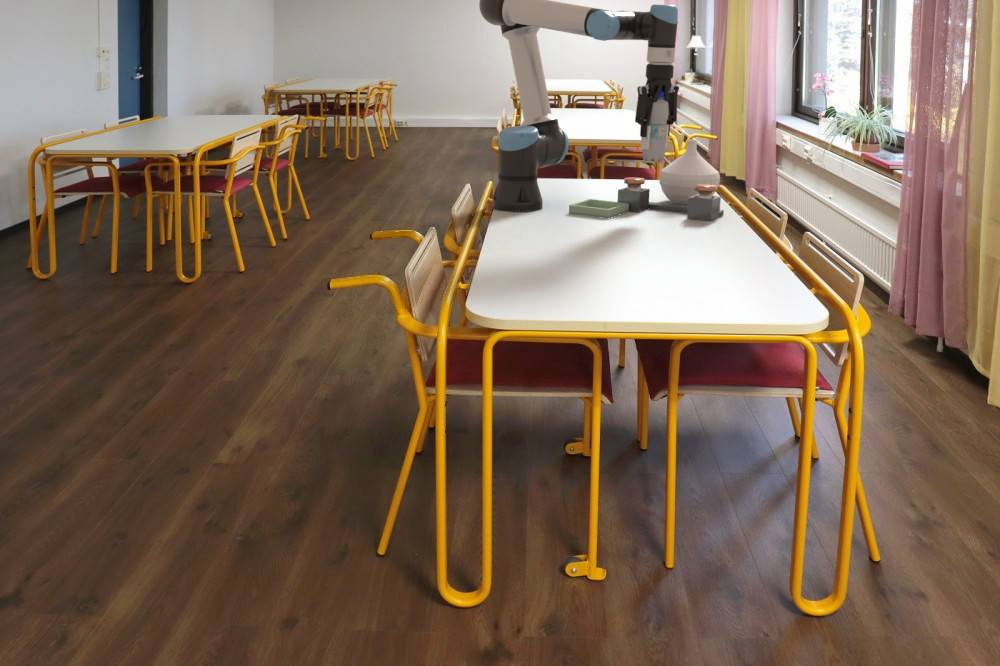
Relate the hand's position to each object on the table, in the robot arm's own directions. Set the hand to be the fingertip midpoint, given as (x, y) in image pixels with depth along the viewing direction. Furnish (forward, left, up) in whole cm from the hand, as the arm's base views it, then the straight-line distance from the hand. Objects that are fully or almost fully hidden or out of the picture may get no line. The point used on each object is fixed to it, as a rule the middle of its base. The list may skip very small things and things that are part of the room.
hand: (653, 148), depth 275 cm
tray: (-14, -5, -19) cm, 24 cm away
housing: (+3, +8, -19) cm, 21 cm away
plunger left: (-8, +6, -18) cm, 21 cm away
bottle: (0, 0, -4) cm, 4 cm away
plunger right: (+14, +6, -18) cm, 24 cm away
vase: (+1, +27, -20) cm, 33 cm away
